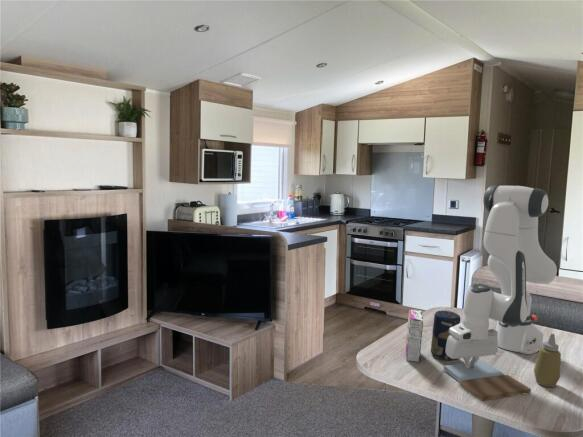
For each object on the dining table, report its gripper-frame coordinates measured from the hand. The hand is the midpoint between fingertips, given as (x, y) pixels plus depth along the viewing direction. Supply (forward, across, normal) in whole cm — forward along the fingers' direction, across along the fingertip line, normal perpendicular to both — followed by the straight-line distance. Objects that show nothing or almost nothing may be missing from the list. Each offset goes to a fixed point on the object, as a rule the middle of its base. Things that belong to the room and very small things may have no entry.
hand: (469, 367), depth 168 cm
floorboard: (+2, -1, +12) cm, 12 cm away
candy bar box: (+2, +13, -17) cm, 21 cm away
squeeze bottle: (+2, -22, +13) cm, 25 cm away
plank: (+2, 0, +2) cm, 2 cm away
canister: (+2, +1, -14) cm, 14 cm away
